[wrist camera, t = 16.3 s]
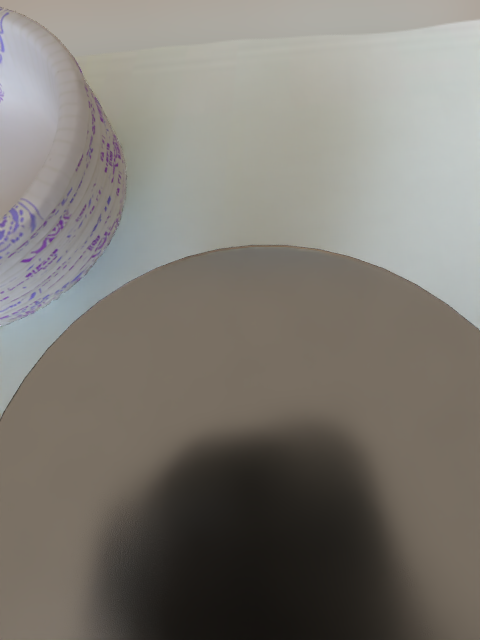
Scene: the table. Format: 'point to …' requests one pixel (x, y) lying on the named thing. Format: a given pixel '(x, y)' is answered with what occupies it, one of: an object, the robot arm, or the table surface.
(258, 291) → the cylinder
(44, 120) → the paper bowls
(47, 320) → the table surface
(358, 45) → the table surface
